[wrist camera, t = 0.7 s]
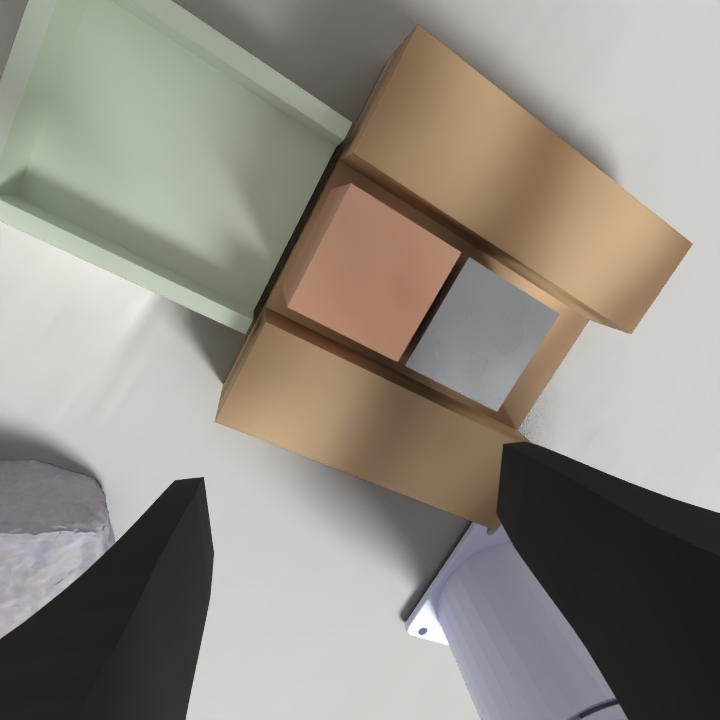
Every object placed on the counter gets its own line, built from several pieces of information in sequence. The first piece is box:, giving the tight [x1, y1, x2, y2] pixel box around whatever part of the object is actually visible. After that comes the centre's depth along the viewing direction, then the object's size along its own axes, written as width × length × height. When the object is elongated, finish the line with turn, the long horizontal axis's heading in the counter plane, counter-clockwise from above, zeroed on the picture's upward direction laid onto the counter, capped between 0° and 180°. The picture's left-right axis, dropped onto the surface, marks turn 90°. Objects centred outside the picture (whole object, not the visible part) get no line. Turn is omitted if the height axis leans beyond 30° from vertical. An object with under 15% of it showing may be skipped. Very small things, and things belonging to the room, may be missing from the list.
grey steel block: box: [399, 255, 560, 412], centre depth 17 cm, size 4×4×4 cm
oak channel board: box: [215, 24, 692, 531], centre depth 18 cm, size 13×14×4 cm
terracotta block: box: [282, 183, 462, 362], centre depth 16 cm, size 4×4×4 cm
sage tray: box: [0, 0, 352, 335], centre depth 15 cm, size 9×8×2 cm
